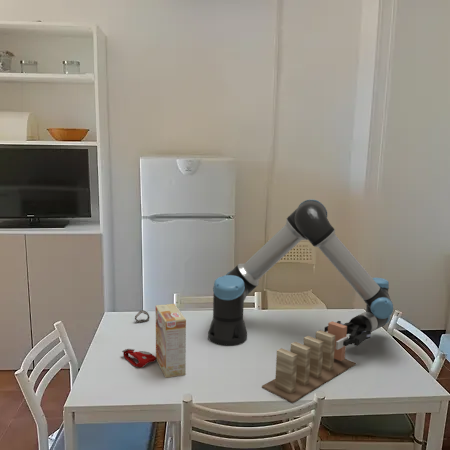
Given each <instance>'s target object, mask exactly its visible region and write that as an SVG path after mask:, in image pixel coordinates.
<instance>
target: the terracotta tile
mask: <svg viewBox="0 0 450 450" xmlns="http://www.w3.org/2000/svg"><path fill="white" fill-rule="evenodd" d="M336 322H337V321H329V322H328V323H327V326H328V333H330V334H332V335H335V349H334V359H337V360H340V361H342V360H344V359H346V349H347V348H346V347H347V346H344V347H342V348H340V349H338V350H337V349H336V341H338V340H340V339H342V338H344V337H346V336H348V334H347V326H345V325H342V324H343V323H342V324H339V323H336Z"/></svg>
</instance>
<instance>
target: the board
mask: <svg viewBox="0 0 450 450" xmlns="http://www.w3.org/2000/svg"><path fill="white" fill-rule="evenodd" d="M356 365H357V362H355V361H352V360H350V359H347V358H345V359H344V360H342V361H340V360H337V359H334V363H333V369H332V370H331V371H327V370H325V369H322V373H321V376H320V377H319V378H315V377H313V376H310V375H309V383H308V384H307V385H305V386H303V385H301V384H299V383H297V382H296V388H295V392H293V393H291V394H289V393H287V392H285V391H283V390H281V389H279V388H277V387H275V378H274V379H272V380H269V381H268V382H267V383H265V384H263V385H261V388H262V389H264V390H266V391H268V392H269V393H272V394H273V395H276V396H277V397H279V398H282V399H283V400H285V401H287V402H289V403H291V404H294V403H296V402H298V401H299V400H301V399H302V398H304V397H306V396H307V395H309V394H310V393H312V392H314V391H316V390H317V389H319V388H320V387H322V386H324V385H325V384H327V383H329V382H330V381H331V380H332V381H333V379H335V378H337V377H338V376H340V375H341V374H344V372H347V370H349V369H352V368H353V367H354V366H356Z"/></svg>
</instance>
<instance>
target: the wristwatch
mask: <svg viewBox="0 0 450 450" xmlns="http://www.w3.org/2000/svg"><path fill="white" fill-rule="evenodd" d="M141 314H144V315H146V316H147V318H146V319H144V320H143V319H142V320H140V319H137V318H138V317H139V316H140V315H141ZM134 320H135V321H136V322H137V323H140V324H142V323H147V322H148V321H149V320H150V314H149V312H148V311H146V310H144V309H141V310H139V311H138V313H137V314H135V316H134Z"/></svg>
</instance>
